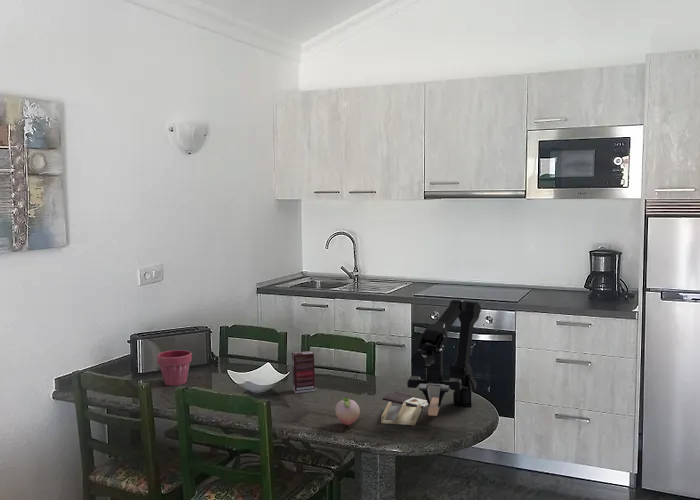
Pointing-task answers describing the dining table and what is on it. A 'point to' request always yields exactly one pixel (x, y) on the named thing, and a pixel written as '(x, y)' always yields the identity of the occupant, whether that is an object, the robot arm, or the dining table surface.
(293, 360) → the supplement box
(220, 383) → the dining table surface
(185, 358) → the plant pot
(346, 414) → the decorative fruit
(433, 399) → the clay strip
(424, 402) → the chocolate bar
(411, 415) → the cream desk organizer
